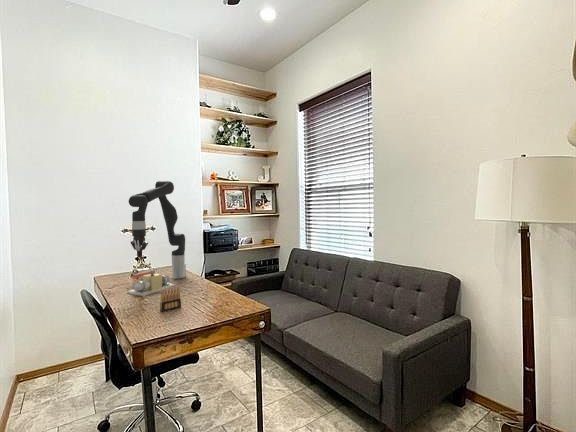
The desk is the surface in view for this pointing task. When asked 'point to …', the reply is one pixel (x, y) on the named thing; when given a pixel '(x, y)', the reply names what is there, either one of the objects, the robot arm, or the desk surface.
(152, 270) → the valve lever
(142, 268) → the pneumatic valve
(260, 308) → the desk surface
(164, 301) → the ammunition clip
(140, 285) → the valve stand
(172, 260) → the robot arm
